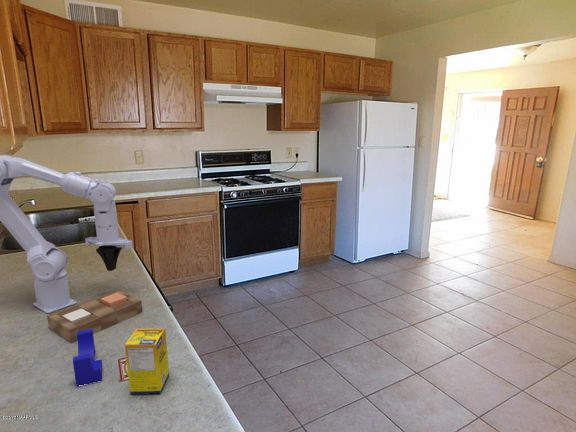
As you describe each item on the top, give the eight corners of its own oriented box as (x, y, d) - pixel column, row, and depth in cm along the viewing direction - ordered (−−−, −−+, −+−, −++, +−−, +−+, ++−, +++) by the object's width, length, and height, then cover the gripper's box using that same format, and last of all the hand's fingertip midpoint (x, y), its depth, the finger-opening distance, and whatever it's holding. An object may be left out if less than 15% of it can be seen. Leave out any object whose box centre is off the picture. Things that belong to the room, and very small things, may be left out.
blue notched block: (101, 381, 75) (98, 355, 74) (76, 388, 74) (72, 361, 72) (102, 350, 86) (99, 327, 85) (80, 355, 84) (77, 331, 83)
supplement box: (169, 374, 77) (165, 327, 75) (161, 394, 72) (156, 344, 69) (140, 375, 77) (136, 327, 75) (129, 395, 71) (124, 344, 69)
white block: (64, 328, 95) (62, 315, 94) (83, 320, 99) (81, 308, 98) (73, 334, 92) (71, 321, 91) (92, 326, 96) (91, 313, 95)
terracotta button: (102, 310, 103) (100, 298, 102) (118, 303, 106) (117, 292, 106) (111, 315, 100) (110, 303, 99) (128, 308, 104) (126, 296, 103)
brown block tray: (48, 327, 95) (46, 315, 94) (118, 300, 110) (117, 289, 110) (71, 343, 88) (69, 329, 88) (142, 312, 104) (141, 300, 103)
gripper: (74, 226, 104) (80, 271, 107) (118, 230, 101) (123, 277, 104) (93, 220, 111) (98, 263, 114) (135, 224, 107) (139, 268, 110)
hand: (111, 269), depth 109 cm, fingers closed
